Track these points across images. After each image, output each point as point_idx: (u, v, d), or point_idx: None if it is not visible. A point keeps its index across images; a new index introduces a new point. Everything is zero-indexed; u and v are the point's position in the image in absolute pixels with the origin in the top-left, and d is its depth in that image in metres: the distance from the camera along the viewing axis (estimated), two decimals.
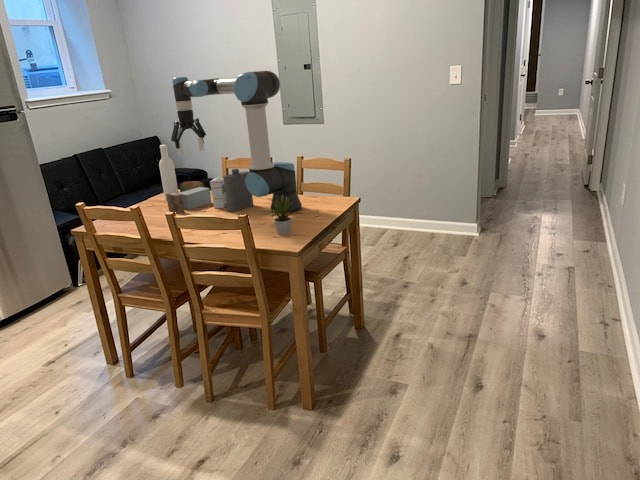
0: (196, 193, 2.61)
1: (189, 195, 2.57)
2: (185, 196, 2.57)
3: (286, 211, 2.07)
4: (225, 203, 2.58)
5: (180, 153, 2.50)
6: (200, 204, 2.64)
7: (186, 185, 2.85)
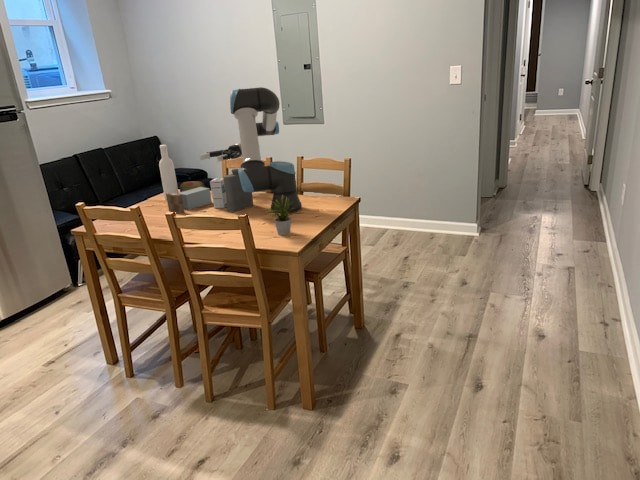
0: (196, 193, 2.61)
1: (188, 195, 2.57)
2: (184, 196, 2.57)
3: (286, 211, 2.07)
4: (225, 203, 2.58)
5: None
6: (200, 204, 2.64)
7: (186, 185, 2.85)
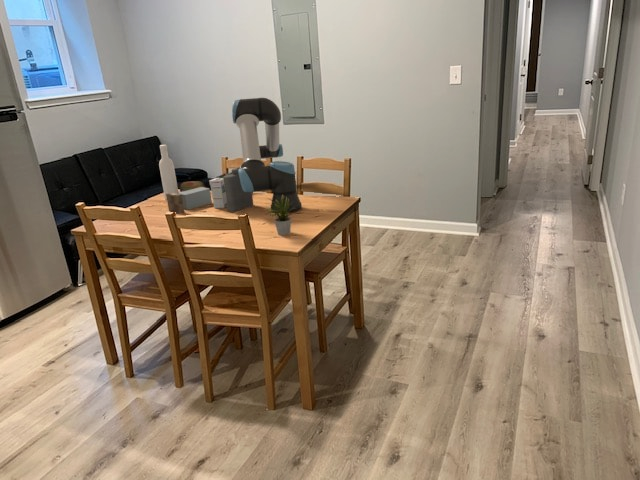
0: (195, 193, 2.61)
1: (187, 195, 2.58)
2: (183, 196, 2.58)
3: (286, 211, 2.07)
4: (225, 203, 2.58)
5: None
6: (199, 204, 2.64)
7: (186, 185, 2.85)
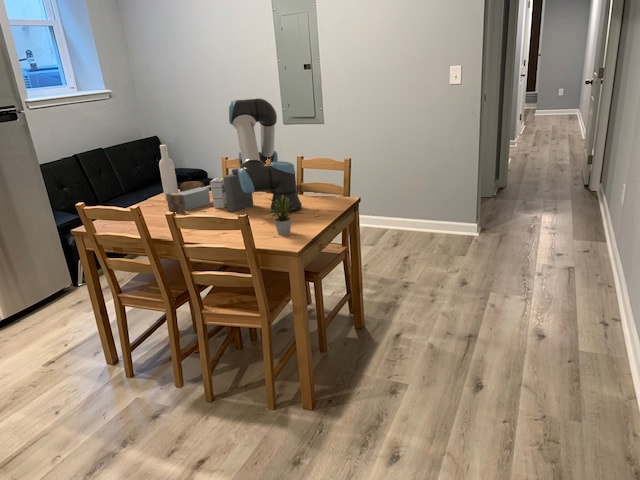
0: (193, 194, 2.60)
1: (186, 195, 2.57)
2: (182, 196, 2.57)
3: (286, 211, 2.07)
4: (225, 203, 2.58)
5: None
6: (198, 205, 2.63)
7: (186, 185, 2.85)
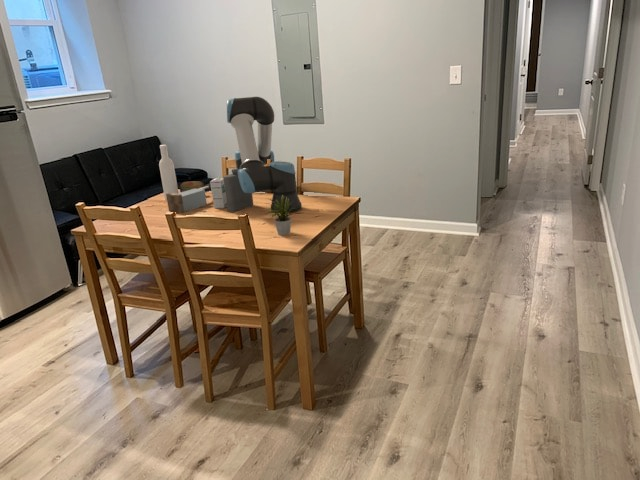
0: (191, 195, 2.57)
1: (184, 197, 2.54)
2: None
3: (286, 211, 2.07)
4: (225, 203, 2.58)
5: None
6: (195, 206, 2.60)
7: (186, 185, 2.85)
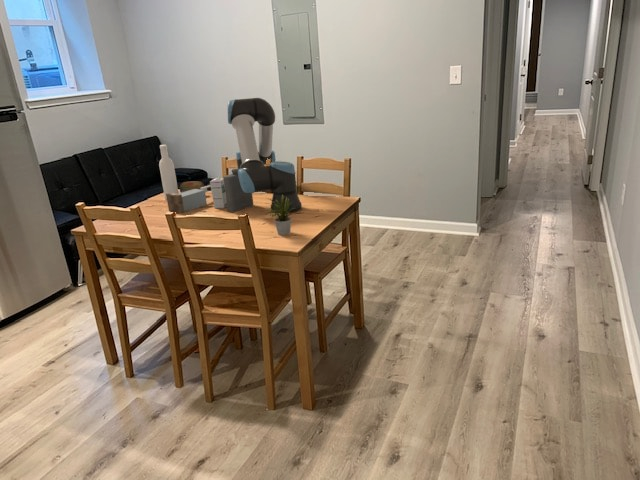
0: (191, 195, 2.57)
1: (184, 197, 2.54)
2: None
3: (286, 211, 2.07)
4: (225, 203, 2.58)
5: None
6: (195, 206, 2.60)
7: (186, 185, 2.85)
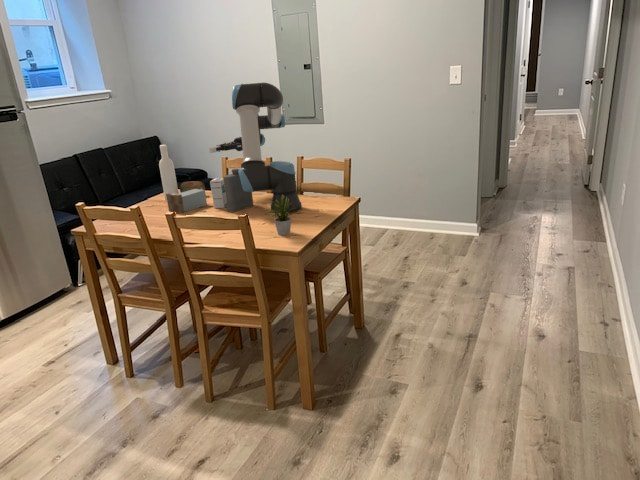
0: (191, 195, 2.57)
1: (184, 197, 2.54)
2: None
3: (286, 211, 2.07)
4: (225, 203, 2.58)
5: None
6: (195, 206, 2.61)
7: (186, 185, 2.85)
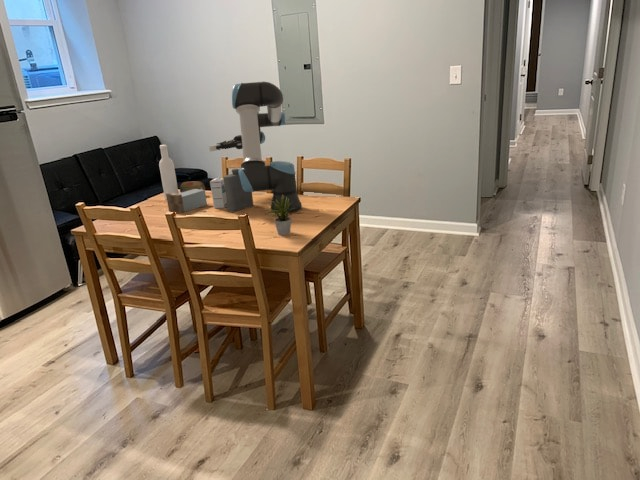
0: (191, 195, 2.57)
1: (184, 197, 2.54)
2: None
3: (286, 211, 2.07)
4: (225, 203, 2.58)
5: None
6: (195, 206, 2.61)
7: (186, 185, 2.85)
